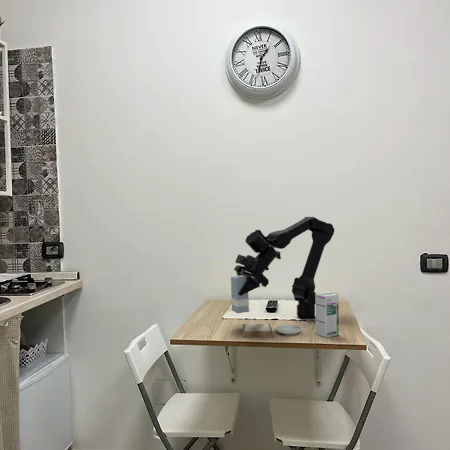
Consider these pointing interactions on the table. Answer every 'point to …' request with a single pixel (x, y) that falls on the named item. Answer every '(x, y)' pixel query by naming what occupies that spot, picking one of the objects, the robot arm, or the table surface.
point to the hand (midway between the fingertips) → (236, 293)
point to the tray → (257, 330)
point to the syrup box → (327, 314)
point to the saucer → (288, 329)
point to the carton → (237, 301)
